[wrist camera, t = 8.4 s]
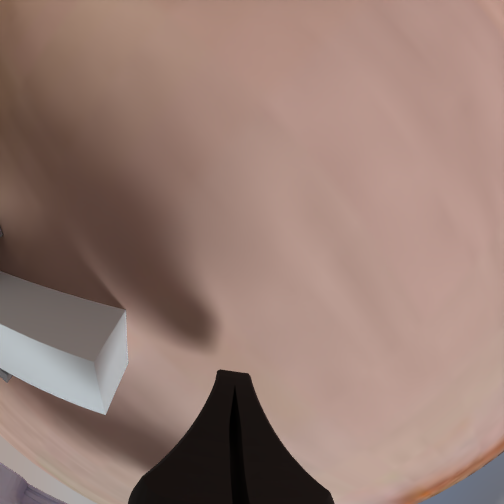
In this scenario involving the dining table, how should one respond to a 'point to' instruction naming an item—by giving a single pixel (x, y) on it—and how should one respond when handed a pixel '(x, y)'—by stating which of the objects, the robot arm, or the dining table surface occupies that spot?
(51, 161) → the dining table surface
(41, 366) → the white rectangular block
